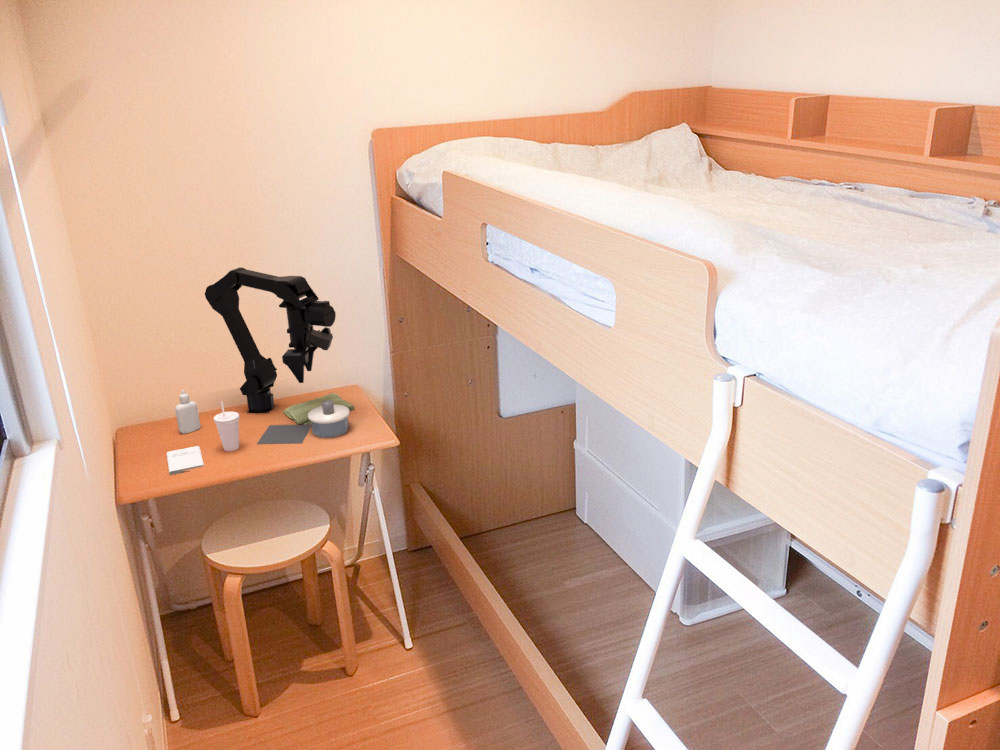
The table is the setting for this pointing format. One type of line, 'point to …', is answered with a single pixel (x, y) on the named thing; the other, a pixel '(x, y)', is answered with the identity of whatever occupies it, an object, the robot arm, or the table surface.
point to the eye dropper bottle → (187, 414)
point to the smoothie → (228, 429)
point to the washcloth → (301, 410)
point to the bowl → (330, 428)
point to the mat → (285, 434)
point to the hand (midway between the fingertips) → (305, 376)
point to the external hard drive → (184, 459)
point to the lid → (328, 413)
